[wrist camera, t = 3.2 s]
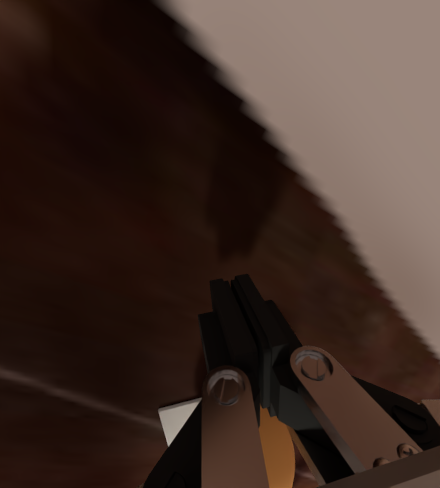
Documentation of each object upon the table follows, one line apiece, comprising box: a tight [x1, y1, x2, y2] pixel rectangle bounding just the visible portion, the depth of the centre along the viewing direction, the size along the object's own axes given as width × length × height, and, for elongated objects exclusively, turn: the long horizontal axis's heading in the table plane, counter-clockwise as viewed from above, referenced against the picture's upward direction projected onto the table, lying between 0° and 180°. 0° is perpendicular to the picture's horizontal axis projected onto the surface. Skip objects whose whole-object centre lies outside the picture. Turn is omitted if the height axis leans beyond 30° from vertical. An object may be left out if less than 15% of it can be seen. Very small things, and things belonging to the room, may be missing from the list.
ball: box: [259, 405, 295, 488], centre depth 14 cm, size 6×6×6 cm
